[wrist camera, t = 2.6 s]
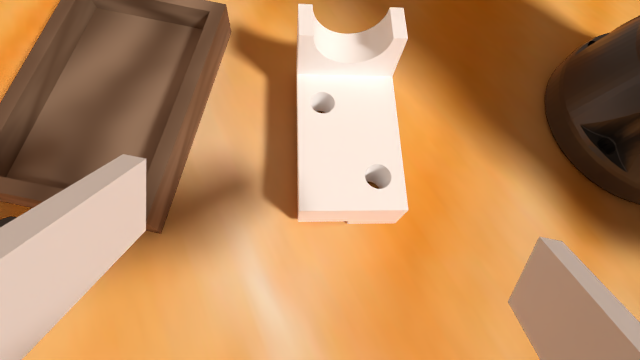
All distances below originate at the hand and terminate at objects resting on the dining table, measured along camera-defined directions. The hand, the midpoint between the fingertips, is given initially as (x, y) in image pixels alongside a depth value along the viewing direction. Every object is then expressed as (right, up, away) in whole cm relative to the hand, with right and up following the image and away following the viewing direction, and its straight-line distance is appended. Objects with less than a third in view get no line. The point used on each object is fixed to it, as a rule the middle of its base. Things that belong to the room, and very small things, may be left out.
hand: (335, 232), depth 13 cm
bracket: (+1, +5, +18) cm, 18 cm away
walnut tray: (-16, +8, +17) cm, 24 cm away
